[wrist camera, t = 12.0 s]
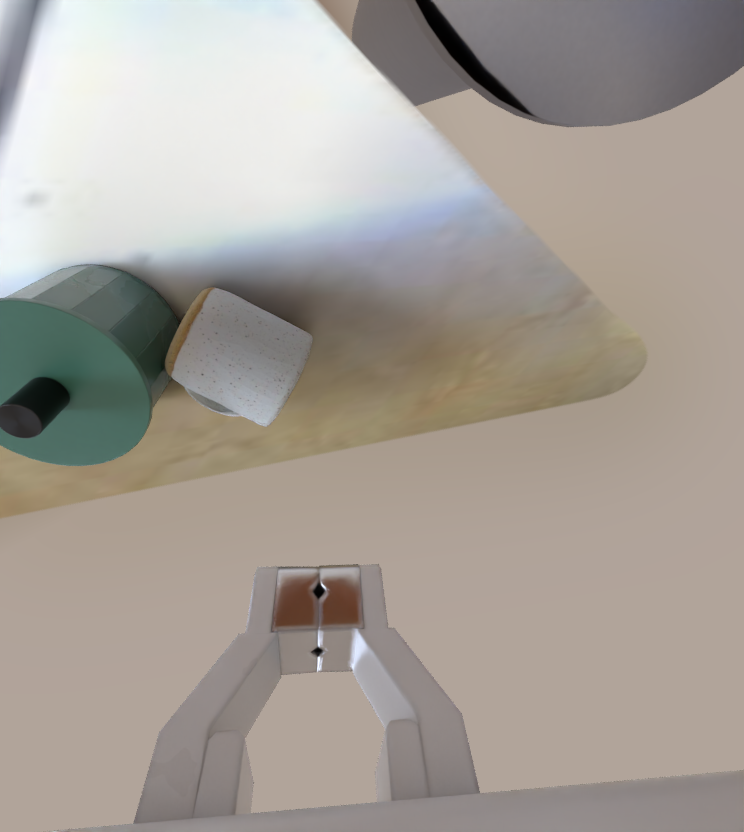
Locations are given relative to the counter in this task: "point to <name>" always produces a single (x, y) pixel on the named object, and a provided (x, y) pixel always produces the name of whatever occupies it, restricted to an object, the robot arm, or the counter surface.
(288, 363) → the ceramic mug
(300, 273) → the counter surface
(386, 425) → the counter surface
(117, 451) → the pot lid
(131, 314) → the pot
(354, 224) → the counter surface
